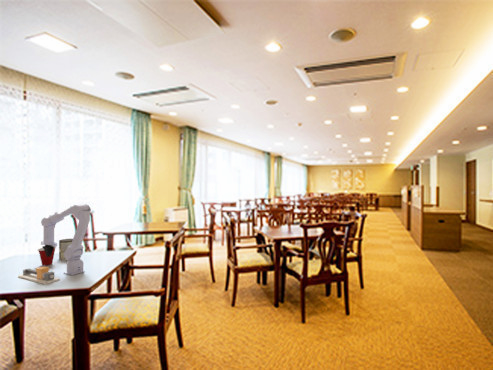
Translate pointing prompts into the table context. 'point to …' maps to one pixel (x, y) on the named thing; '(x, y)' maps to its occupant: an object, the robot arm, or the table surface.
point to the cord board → (32, 276)
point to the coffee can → (63, 247)
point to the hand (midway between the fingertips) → (48, 256)
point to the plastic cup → (45, 259)
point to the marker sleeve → (41, 271)
